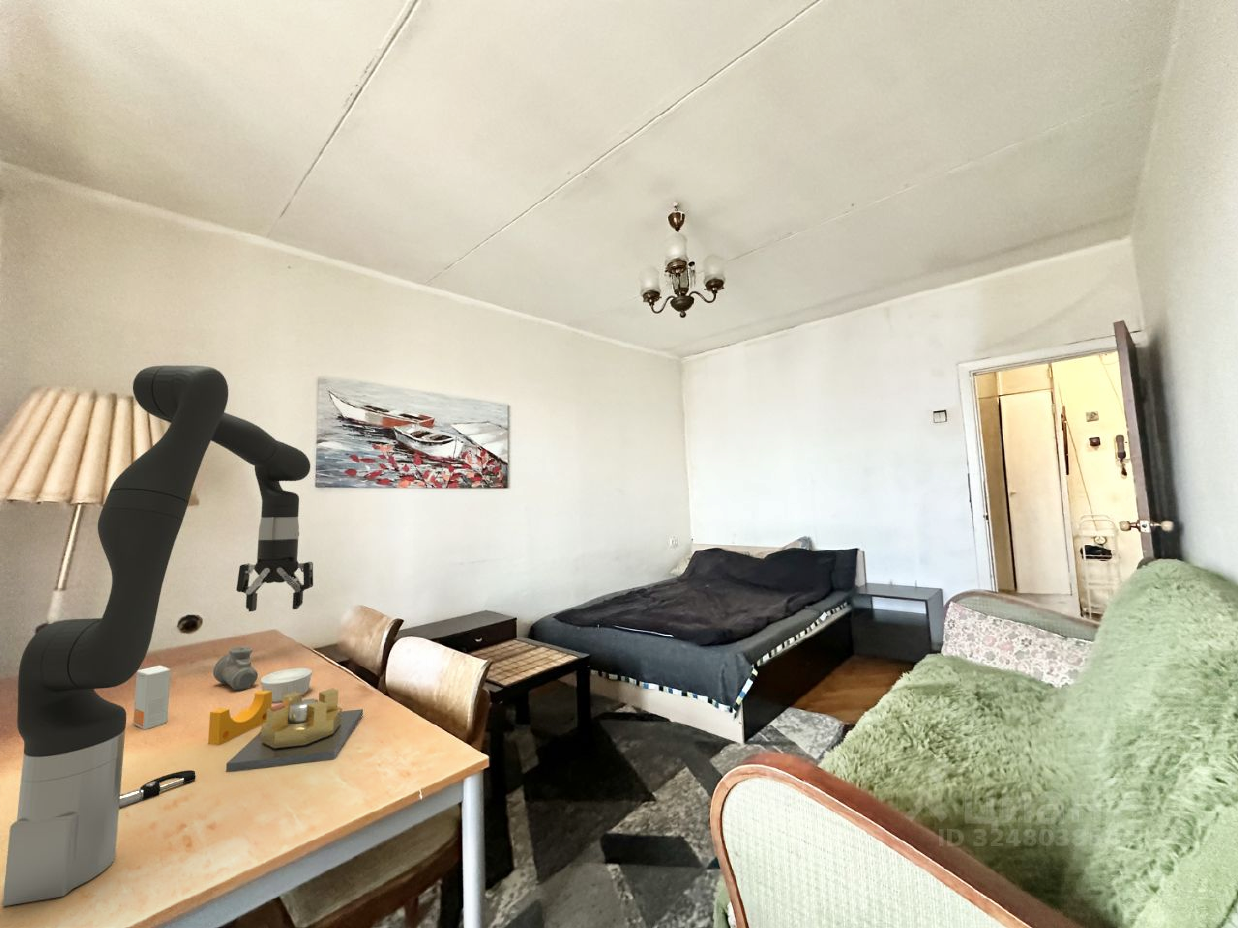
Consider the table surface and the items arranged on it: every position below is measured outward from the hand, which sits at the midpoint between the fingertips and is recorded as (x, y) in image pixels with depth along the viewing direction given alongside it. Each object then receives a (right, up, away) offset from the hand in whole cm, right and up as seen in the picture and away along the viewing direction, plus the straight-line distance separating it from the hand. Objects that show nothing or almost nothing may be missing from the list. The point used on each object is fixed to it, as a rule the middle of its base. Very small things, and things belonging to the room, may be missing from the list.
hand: (274, 609), depth 109 cm
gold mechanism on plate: (+12, -25, -8) cm, 29 cm away
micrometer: (-5, -24, -26) cm, 36 cm away
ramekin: (-9, -28, +17) cm, 34 cm away
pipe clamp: (-6, -26, -3) cm, 27 cm away
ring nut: (+12, -23, -8) cm, 27 cm away
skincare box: (-29, -26, 0) cm, 39 cm away
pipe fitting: (-27, -28, +23) cm, 46 cm away
